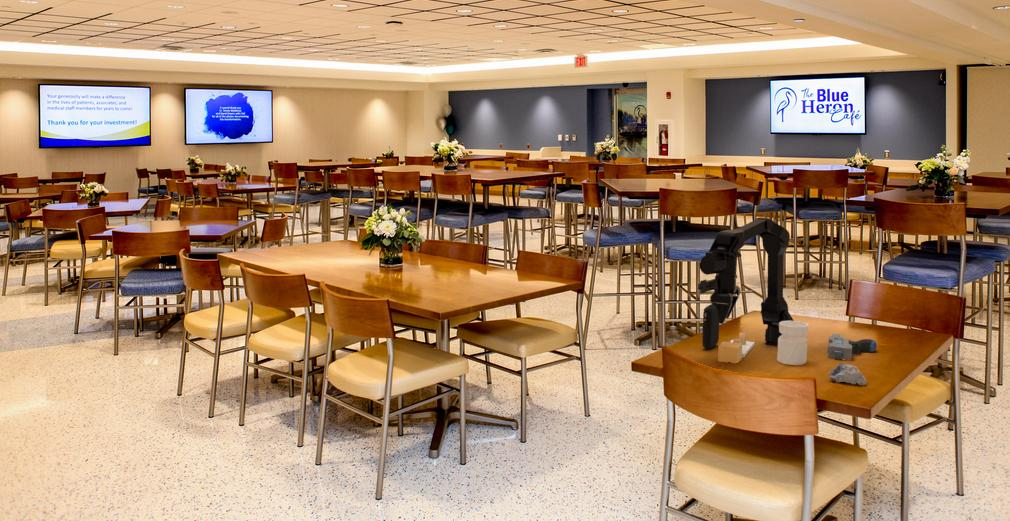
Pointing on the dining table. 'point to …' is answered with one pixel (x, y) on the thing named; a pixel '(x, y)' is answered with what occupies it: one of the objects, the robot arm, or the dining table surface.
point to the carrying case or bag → (710, 327)
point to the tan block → (730, 352)
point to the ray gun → (848, 347)
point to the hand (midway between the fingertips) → (724, 320)
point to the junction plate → (746, 347)
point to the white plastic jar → (792, 342)
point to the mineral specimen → (847, 374)
